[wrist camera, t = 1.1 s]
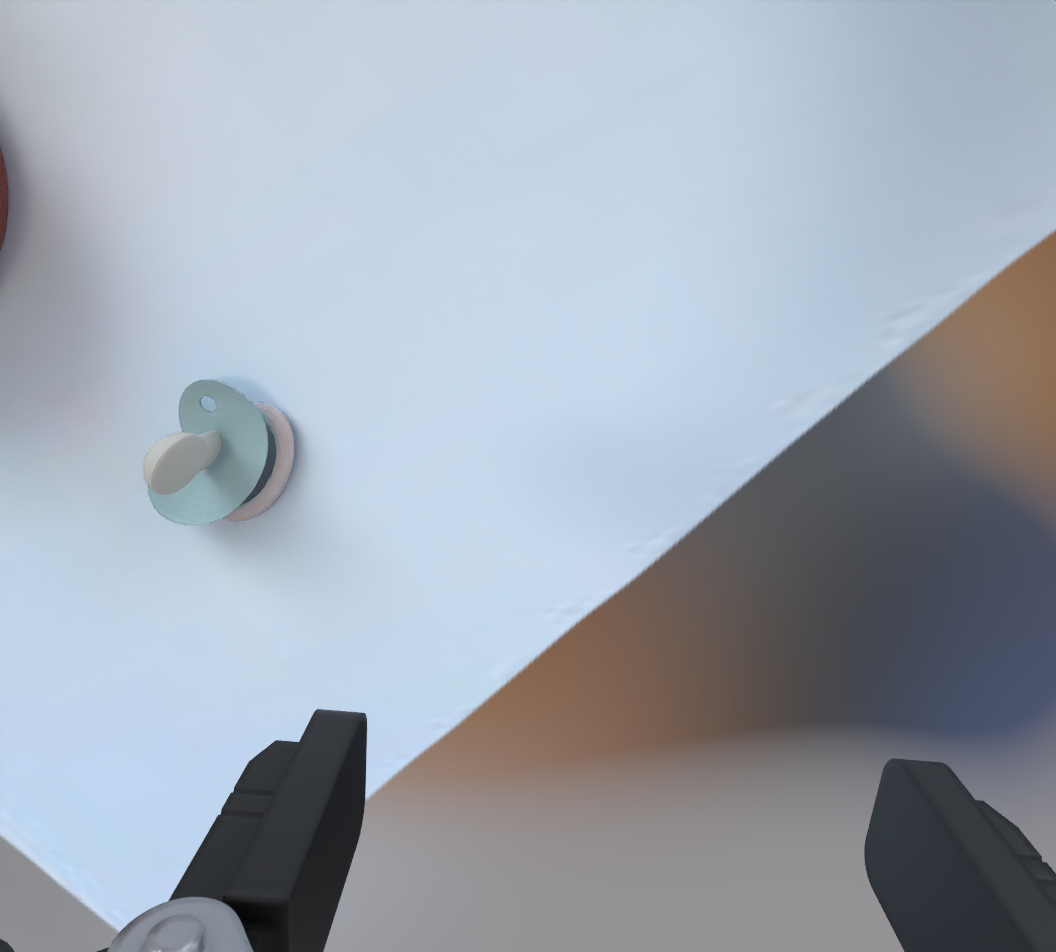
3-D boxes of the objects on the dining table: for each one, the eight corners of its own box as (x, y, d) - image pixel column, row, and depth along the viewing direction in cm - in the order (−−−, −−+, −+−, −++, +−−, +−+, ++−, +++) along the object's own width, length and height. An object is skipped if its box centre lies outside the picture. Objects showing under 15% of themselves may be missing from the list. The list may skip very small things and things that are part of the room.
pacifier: (318, 415, 38) (205, 361, 38) (287, 439, 32) (151, 375, 32) (262, 540, 40) (151, 490, 39) (222, 585, 34) (89, 528, 33)
